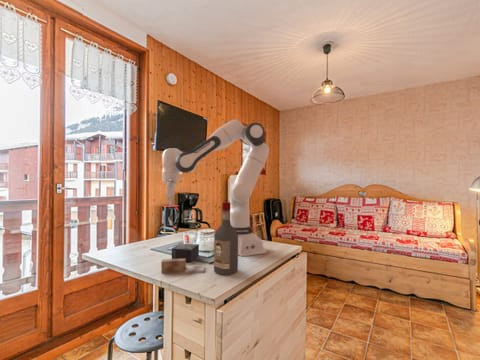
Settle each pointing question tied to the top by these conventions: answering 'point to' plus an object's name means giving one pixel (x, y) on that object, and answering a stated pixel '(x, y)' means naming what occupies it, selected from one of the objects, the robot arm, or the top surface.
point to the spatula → (179, 266)
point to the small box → (185, 251)
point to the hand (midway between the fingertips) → (170, 204)
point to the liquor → (226, 245)
